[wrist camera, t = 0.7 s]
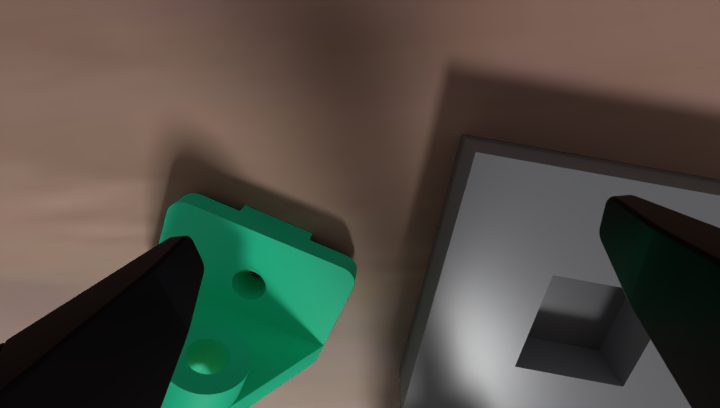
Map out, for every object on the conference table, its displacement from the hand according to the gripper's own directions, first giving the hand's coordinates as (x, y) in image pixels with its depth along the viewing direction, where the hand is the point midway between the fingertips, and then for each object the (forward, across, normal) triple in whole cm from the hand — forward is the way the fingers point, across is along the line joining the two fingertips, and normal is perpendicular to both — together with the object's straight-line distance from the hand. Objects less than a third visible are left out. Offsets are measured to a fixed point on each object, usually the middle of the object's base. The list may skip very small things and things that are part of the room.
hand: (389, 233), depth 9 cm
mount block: (+12, -10, +15) cm, 22 cm away
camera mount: (+13, +10, +12) cm, 20 cm away
